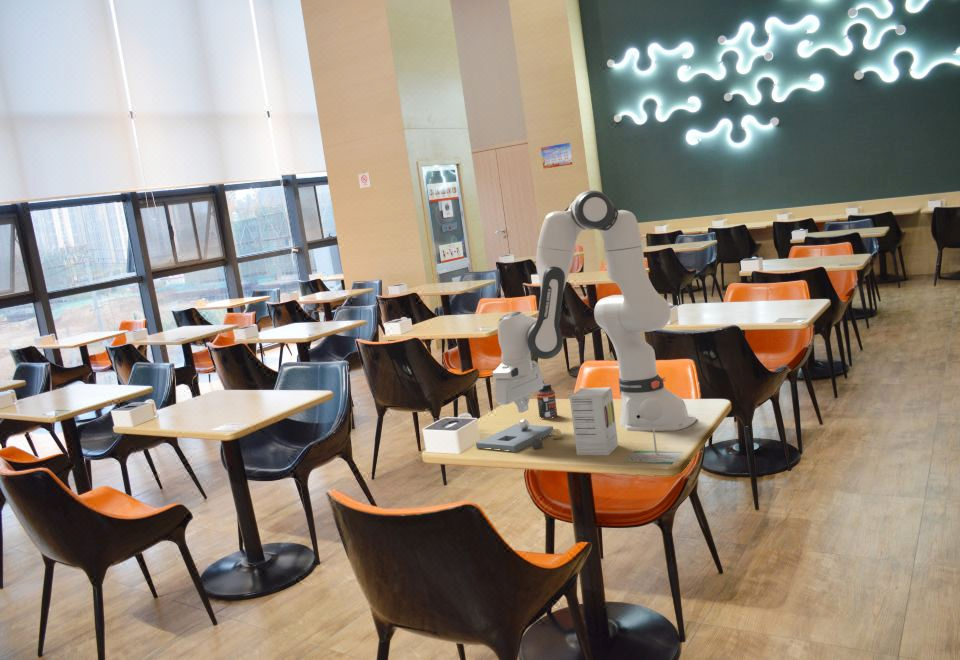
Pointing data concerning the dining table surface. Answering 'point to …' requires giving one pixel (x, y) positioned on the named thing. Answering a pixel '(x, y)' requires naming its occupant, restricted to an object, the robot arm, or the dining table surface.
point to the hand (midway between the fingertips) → (523, 411)
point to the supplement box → (594, 421)
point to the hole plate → (515, 437)
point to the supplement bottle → (546, 402)
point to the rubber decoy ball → (537, 444)
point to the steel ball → (524, 424)
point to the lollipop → (651, 413)
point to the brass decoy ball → (556, 434)
